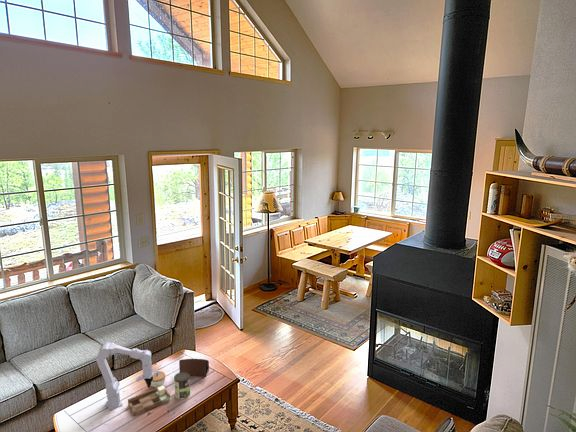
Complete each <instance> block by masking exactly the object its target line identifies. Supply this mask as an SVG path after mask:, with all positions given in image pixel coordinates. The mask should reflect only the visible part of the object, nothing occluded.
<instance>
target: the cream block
mask: <svg viewBox="0 0 576 432" xmlns="http://www.w3.org/2000/svg"><path fill="white" fill-rule="evenodd" d="M165 387H166V386H164V385H162V386H160V387H158V388H157V389H158V394H159V396H161V395H163V394H166V393H165V389H166V388H165Z"/></svg>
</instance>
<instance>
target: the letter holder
mask: <svg viewBox="0 0 576 432" xmlns="http://www.w3.org/2000/svg"><path fill="white" fill-rule="evenodd" d="M178 363H179V366H178V368H179V369H178V370H179V373H180V372H187V373H189V375H190V377H195V376H196V377H199V378H200V377H201V378H206V377H207V376H208V373H209V369H210V361H209V360H208V359H203V358H185V359H179V361H178ZM196 377H195V378H196Z"/></svg>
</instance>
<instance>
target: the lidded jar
mask: <svg viewBox="0 0 576 432" xmlns="http://www.w3.org/2000/svg"><path fill="white" fill-rule="evenodd" d="M152 377H153V380H152V382H151V385H150V386H152V387H153V389H155V388H158V387H160V386H164V384H165V381H166V373H165V372H164V371H160V370H159V374H155V375H153V376H152Z"/></svg>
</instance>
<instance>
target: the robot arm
mask: <svg viewBox="0 0 576 432" xmlns="http://www.w3.org/2000/svg"><path fill="white" fill-rule="evenodd" d="M116 353H117V354H121V355H127V356H129V357H130V358H133V359H137V360H138V361H139V360H140V361H141V362H142V374H141V375H139V376H138V377H136V378H135V380H136V382H137V383H138V382H139V381H142V380H144V381H145V383H146V387H147V388H151V386H152V385H151V382H152V380H153V377H152V376H153V375H155V374H159V371H160V370H158V369H156V370H153V364H152V351H151V350H149V349H145V350H144V349H143V350H142V349H138V348H137V347H136V348H135V347H133V348H131V349H130V348H128V347H124V346H121V345H119V344H116V343H115V342H112V341H105V342H103V344H102V345H101V346H100V348H99V351H98V353H97V355H96V359H95V360H96V363H97V365H98V368H99V370H100V372H101V375H102V378H103V380H104V382H105V390H106V392H105V395H106V401H105V403H106V406H107V408H108V410H109V411H111V410H114V409H116V408H119V407H122V406H123V402H122V401H121V396H120V390H119V386H120V381H118V379H117V378H116V377H114V375H113V373H112V372H113V371H112V370H111V368H110V366H109V363H108V360H107V358H108V357H110V356H113V355H114V354H115V355H116ZM139 383H140V382H139Z"/></svg>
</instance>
